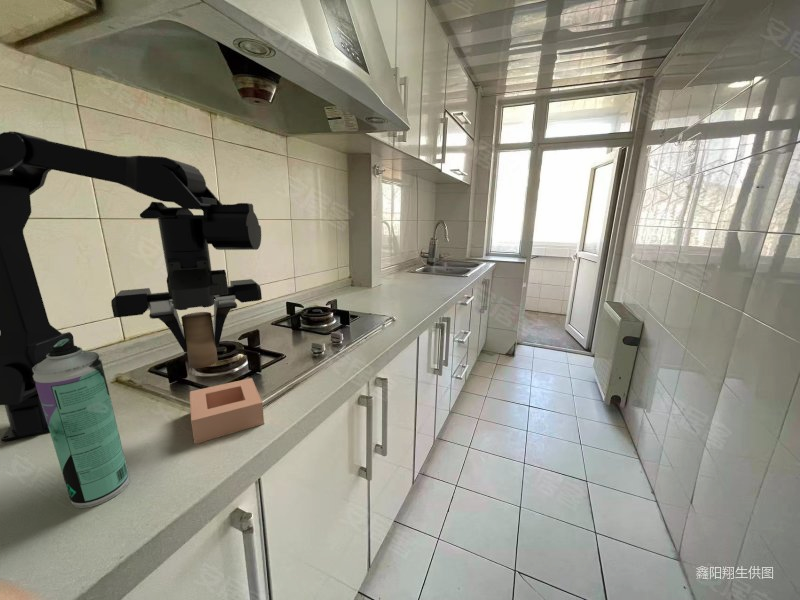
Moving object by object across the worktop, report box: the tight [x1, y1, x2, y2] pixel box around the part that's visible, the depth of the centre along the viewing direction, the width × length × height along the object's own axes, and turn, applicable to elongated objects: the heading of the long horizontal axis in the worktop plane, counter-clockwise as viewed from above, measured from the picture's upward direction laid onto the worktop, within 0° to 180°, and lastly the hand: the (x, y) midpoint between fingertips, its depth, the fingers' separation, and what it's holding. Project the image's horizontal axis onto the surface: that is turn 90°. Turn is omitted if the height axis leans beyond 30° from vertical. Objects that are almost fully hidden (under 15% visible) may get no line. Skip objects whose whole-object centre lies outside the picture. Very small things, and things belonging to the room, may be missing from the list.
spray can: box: [32, 338, 130, 509], centre depth 38 cm, size 6×6×20 cm
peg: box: [180, 311, 218, 369], centre depth 52 cm, size 4×4×8 cm
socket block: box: [189, 377, 265, 445], centre depth 56 cm, size 10×10×4 cm
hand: (201, 348), depth 52 cm, fingers closed on peg, 4 cm apart
